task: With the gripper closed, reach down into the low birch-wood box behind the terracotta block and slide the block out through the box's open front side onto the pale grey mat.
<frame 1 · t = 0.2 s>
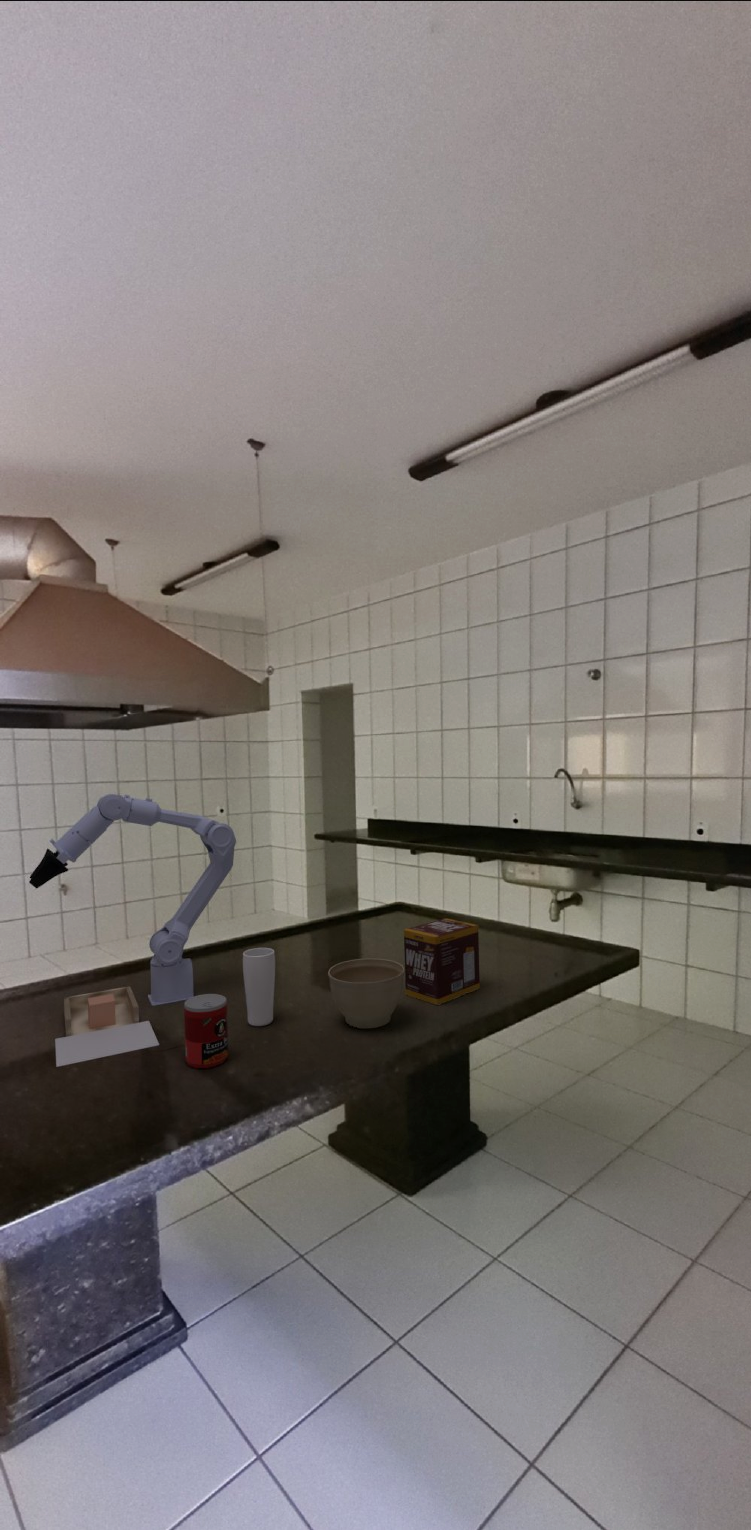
hand: (32, 883, 140), 31 cm above the table, tool tilted 45°, fingers open, 7 cm apart
block: (101, 1023, 137), point 1 cm above the table, touching open box
mat: (106, 1045, 128), on the table
canned food: (207, 1061, 120), on the table
supplement box: (442, 993, 152), on the table
planter bowl: (367, 1021, 136), on the table
drinking glass: (260, 1023, 137), on the table
open box: (100, 1021, 140), on the table
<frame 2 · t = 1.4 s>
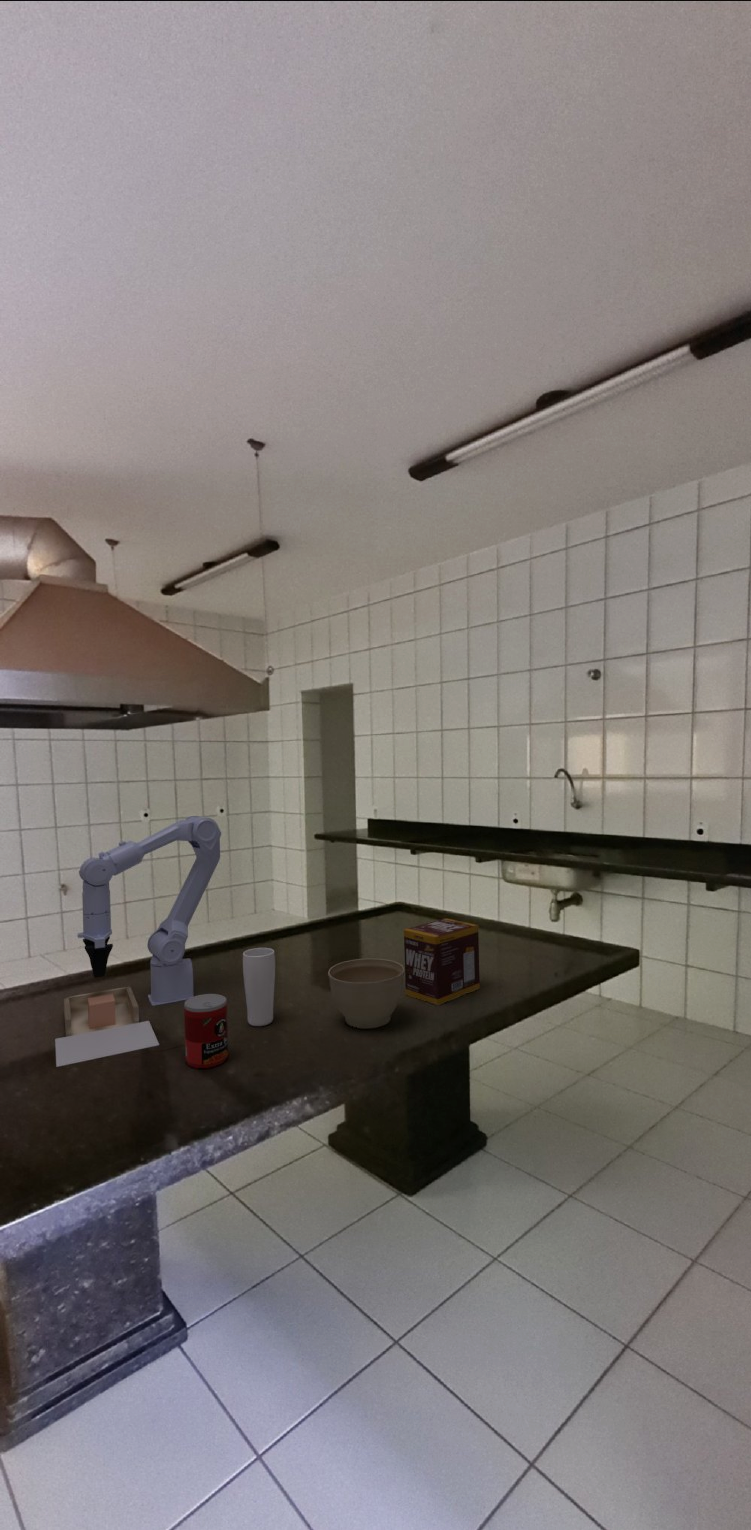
hand: (98, 973, 144), 9 cm above the table, tool pointing down, fingers open, 6 cm apart
nothing on the table moved.
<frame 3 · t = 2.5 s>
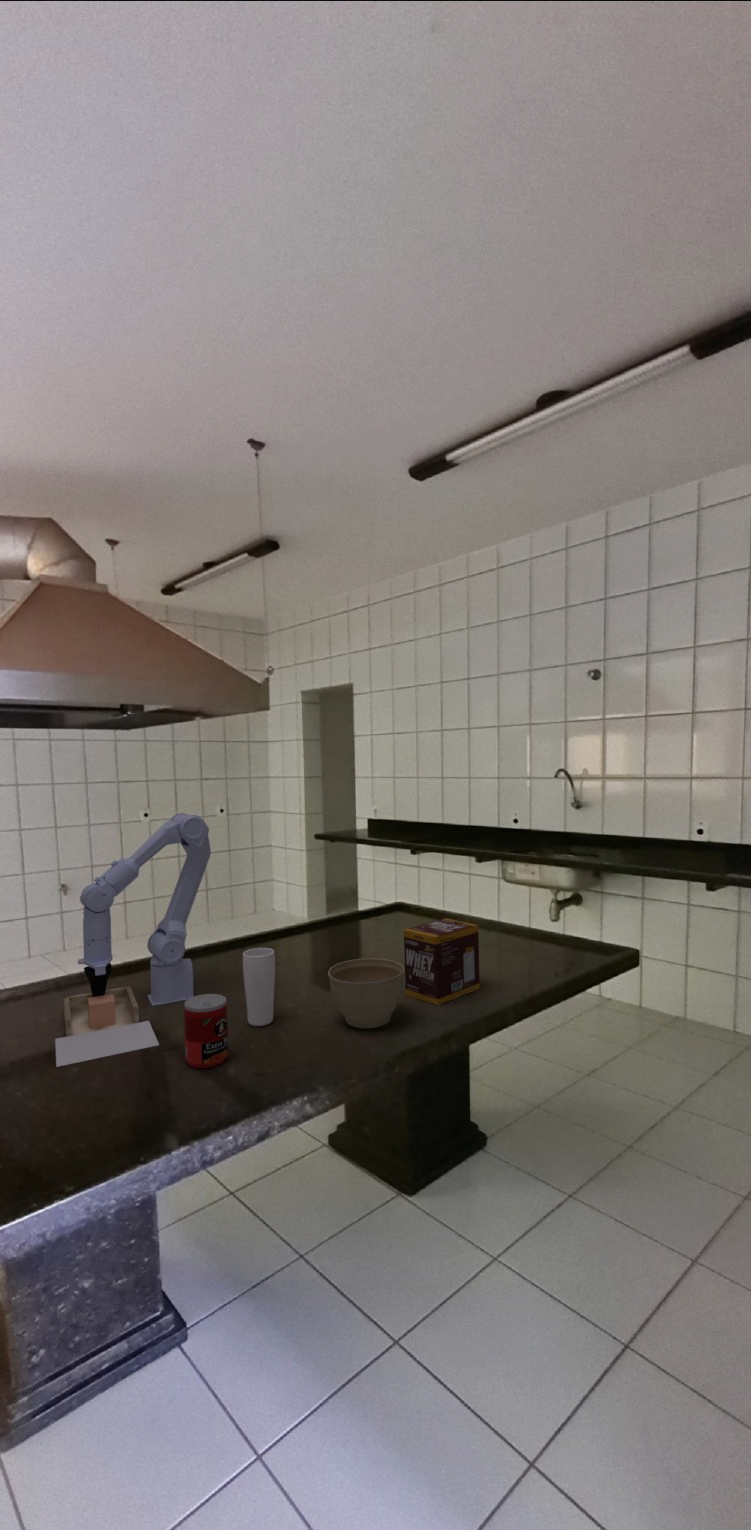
hand: (98, 999, 144), 4 cm above the table, tool pointing down, fingers closed
nothing on the table moved.
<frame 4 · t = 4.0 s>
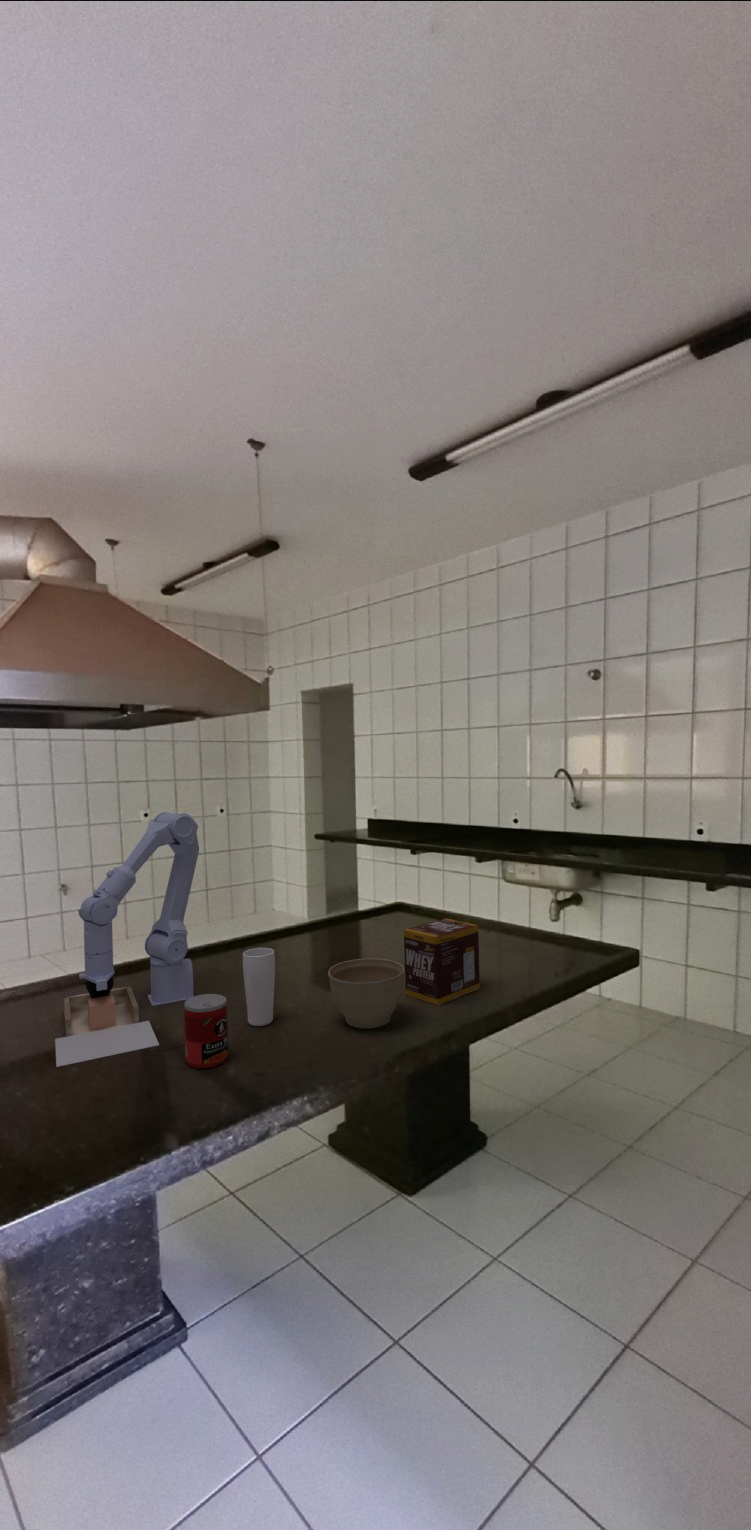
hand: (100, 1014, 141), 1 cm above the table, tool pointing down, fingers closed
block: (102, 1024, 137), point 1 cm above the table, touching gripper
everything else where it was.
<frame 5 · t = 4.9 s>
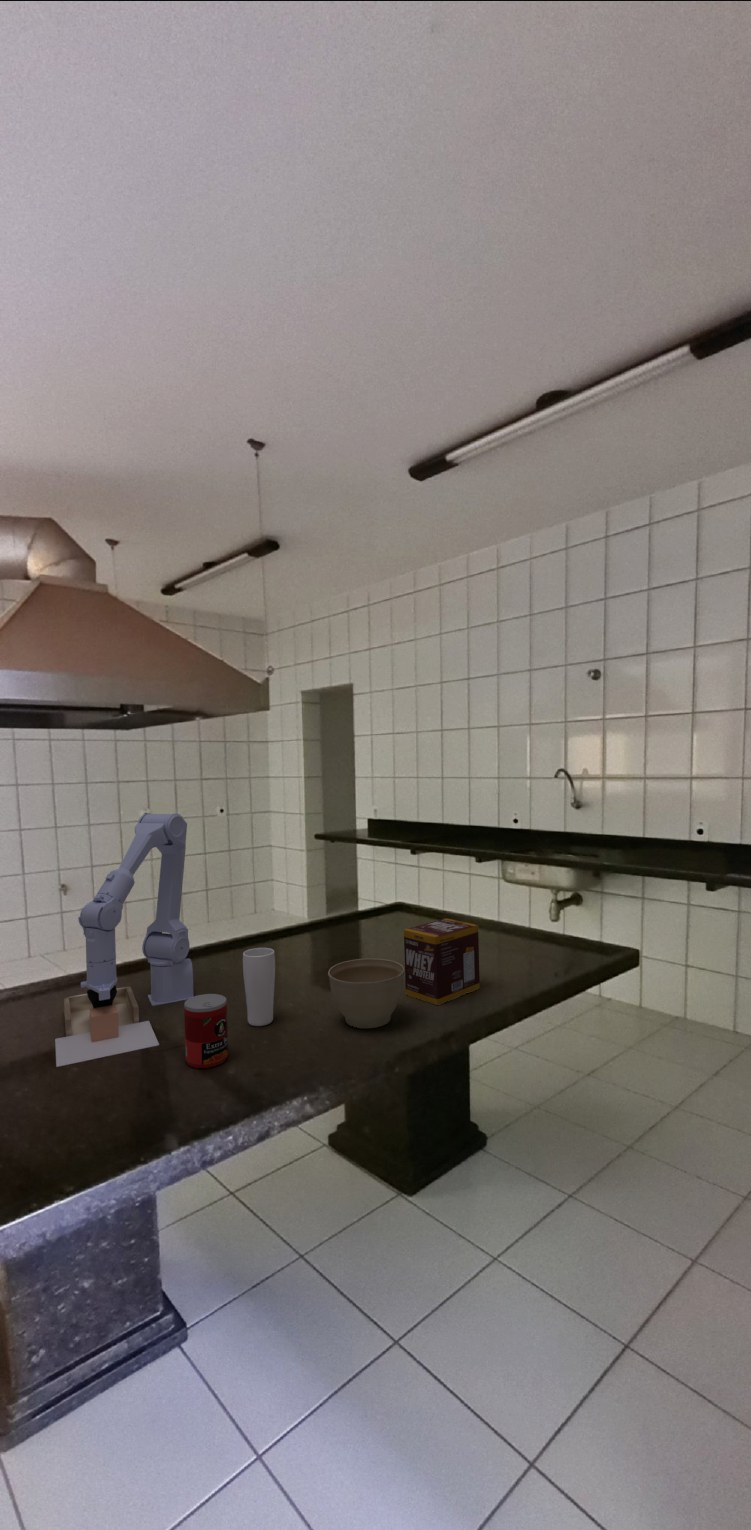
hand: (102, 1024, 135), 1 cm above the table, tool pointing down, fingers closed
block: (104, 1035, 131), point 1 cm above the table, touching gripper
everything else where it was.
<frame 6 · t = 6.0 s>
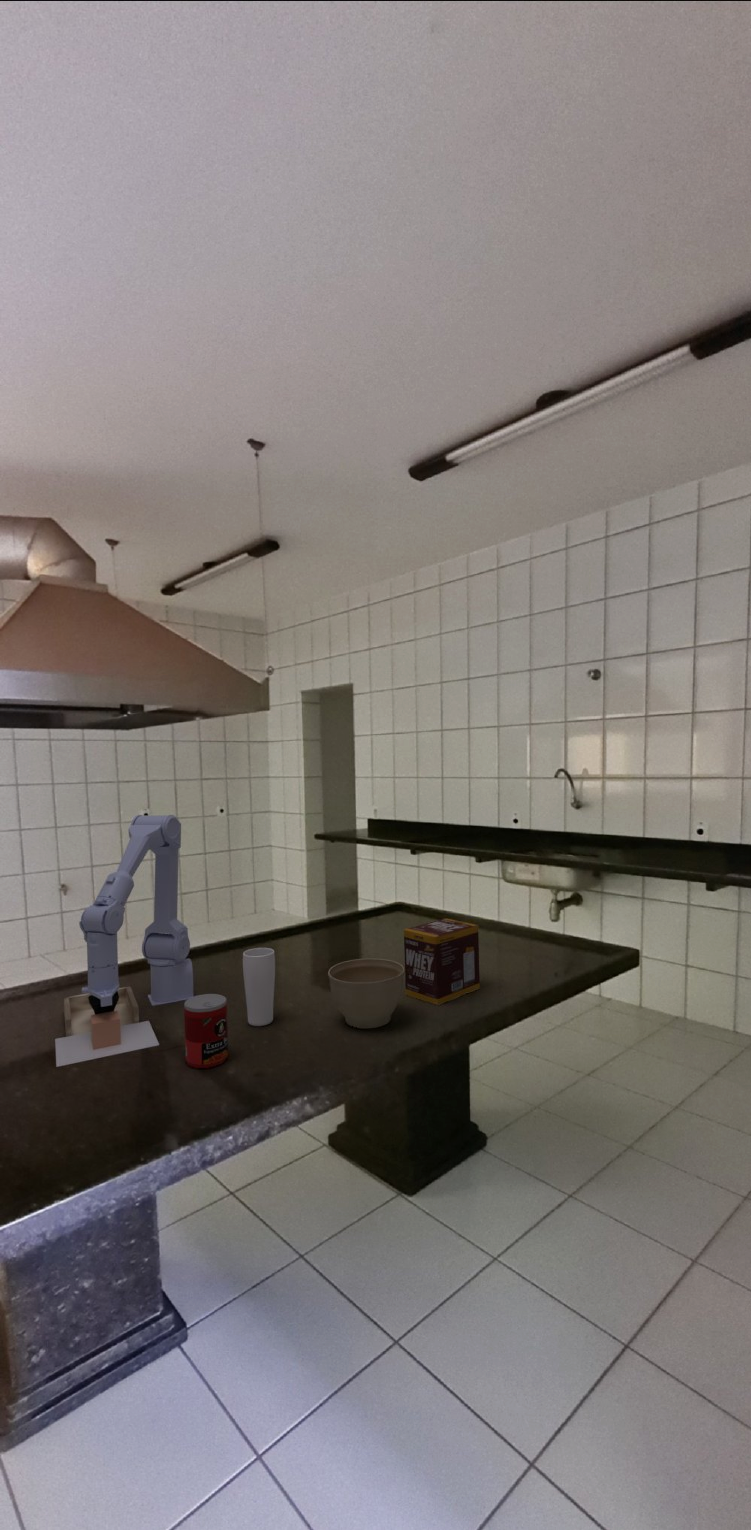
hand: (104, 1030, 131), 1 cm above the table, tool pointing down, fingers closed
block: (106, 1042, 127), point 1 cm above the table, touching gripper, mat
everything else where it was.
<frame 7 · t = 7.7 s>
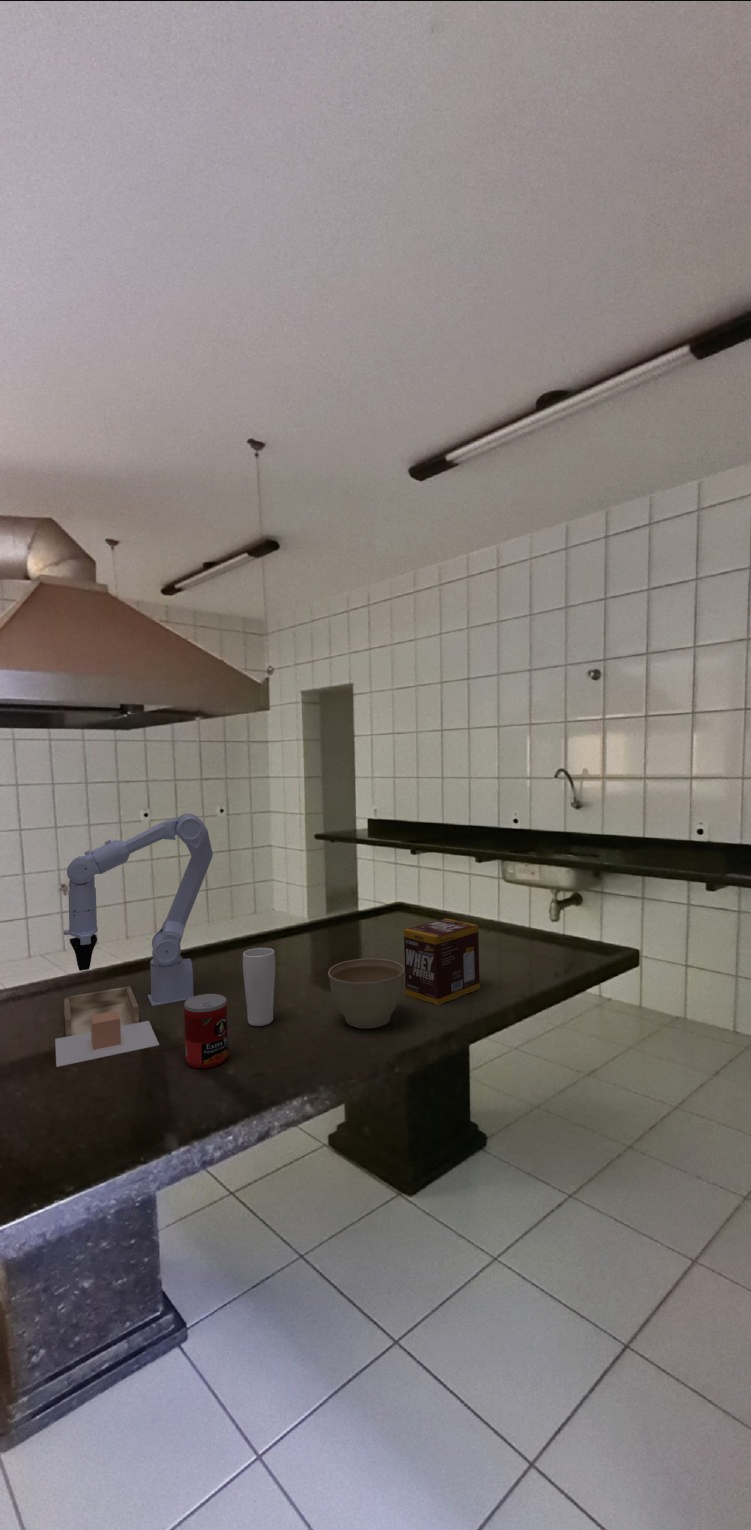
hand: (84, 969, 146), 9 cm above the table, tool pointing down, fingers closed
block: (106, 1042, 127), point 1 cm above the table, touching mat
everything else where it was.
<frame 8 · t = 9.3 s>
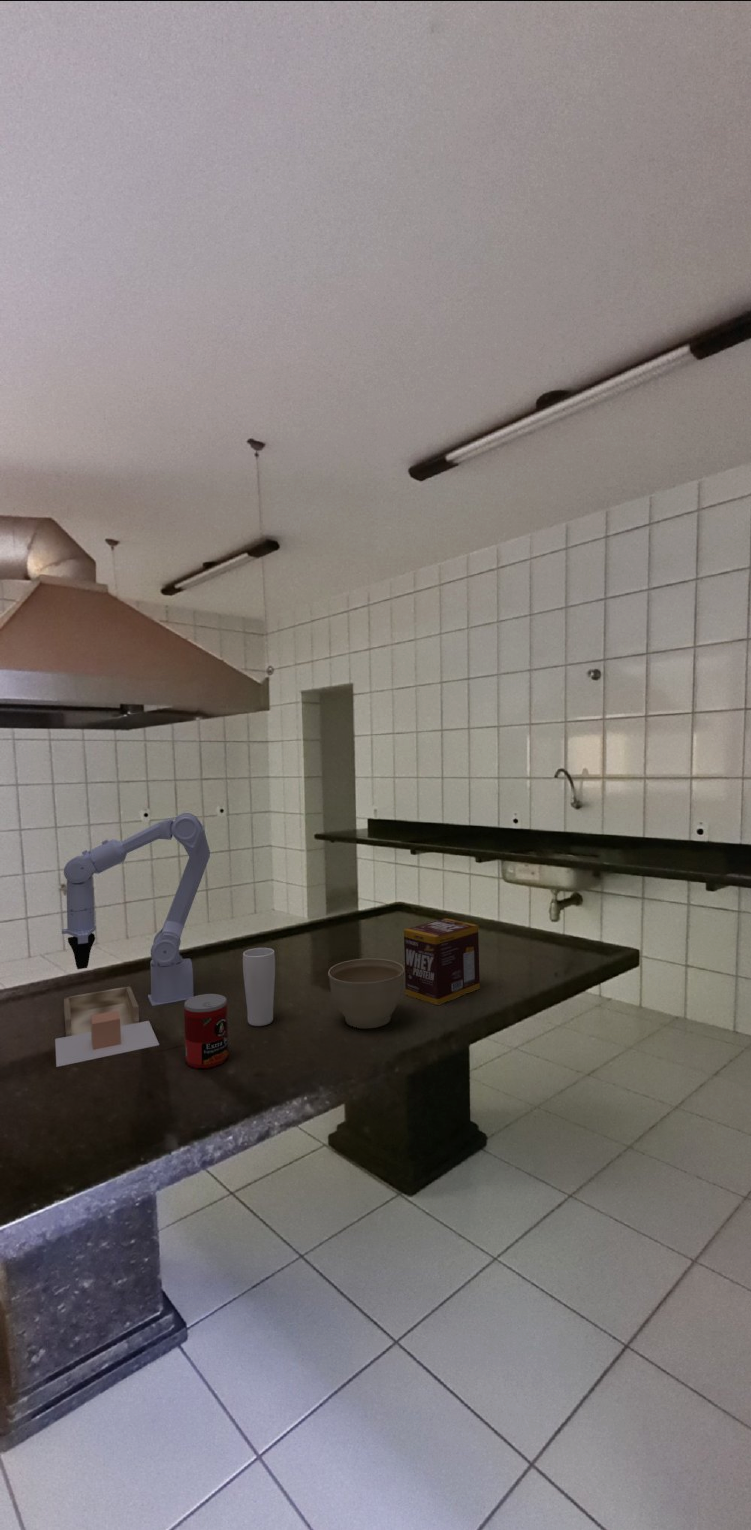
hand: (82, 968, 148), 9 cm above the table, tool pointing down, fingers closed
nothing on the table moved.
at the end: block inside the target area on the mat (0.6 cm from its centre), point 0.6 cm above the mat's base; block tilted 0°; block touching mat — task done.
